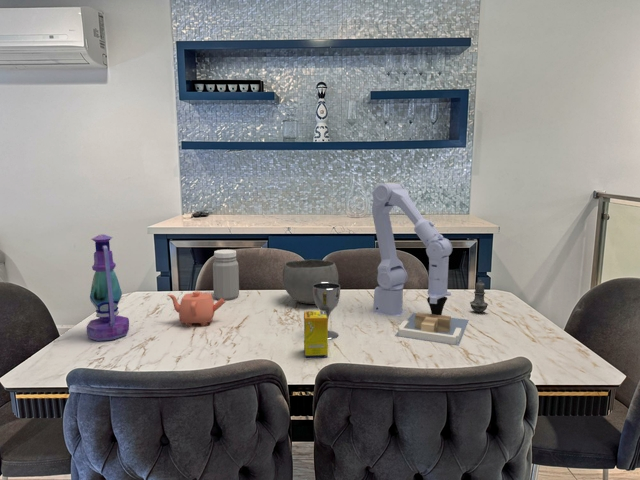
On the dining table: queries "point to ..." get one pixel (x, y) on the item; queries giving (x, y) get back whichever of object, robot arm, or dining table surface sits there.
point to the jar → (225, 275)
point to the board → (454, 324)
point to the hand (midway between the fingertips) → (436, 320)
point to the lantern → (105, 295)
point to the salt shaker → (479, 298)
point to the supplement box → (315, 334)
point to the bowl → (307, 277)
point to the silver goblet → (327, 299)
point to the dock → (428, 334)
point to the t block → (432, 322)
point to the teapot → (196, 308)
